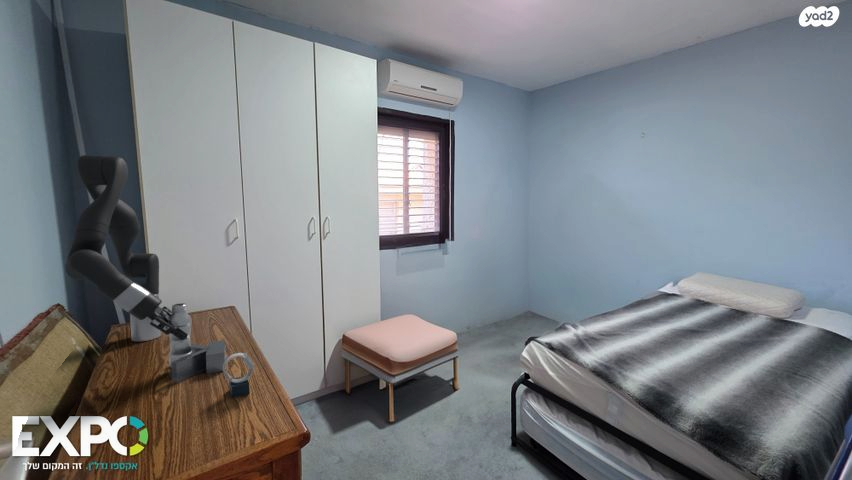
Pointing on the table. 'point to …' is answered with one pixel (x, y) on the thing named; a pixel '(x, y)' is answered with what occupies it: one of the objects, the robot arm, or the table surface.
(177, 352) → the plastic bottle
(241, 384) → the watch
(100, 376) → the table surface
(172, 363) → the v block
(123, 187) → the robot arm
